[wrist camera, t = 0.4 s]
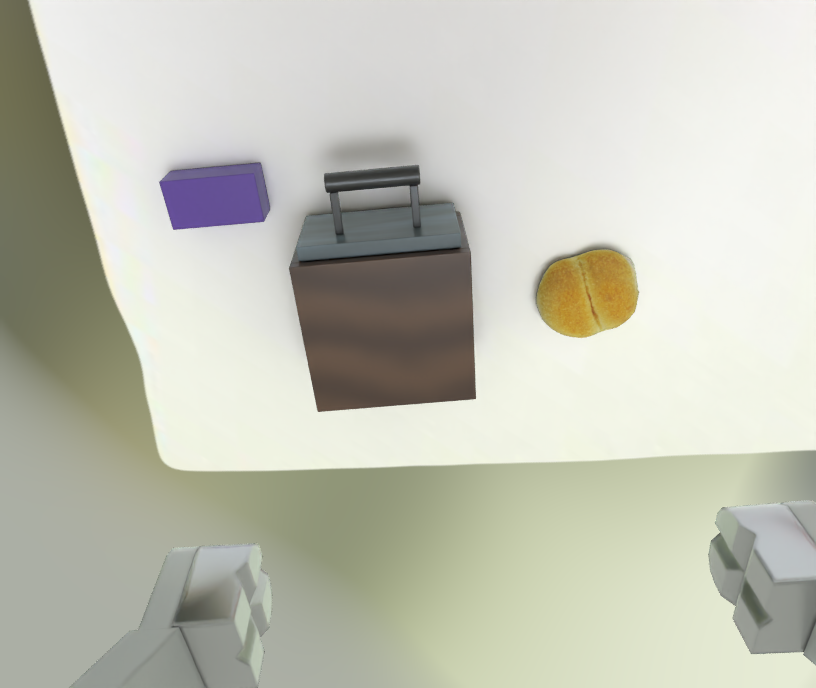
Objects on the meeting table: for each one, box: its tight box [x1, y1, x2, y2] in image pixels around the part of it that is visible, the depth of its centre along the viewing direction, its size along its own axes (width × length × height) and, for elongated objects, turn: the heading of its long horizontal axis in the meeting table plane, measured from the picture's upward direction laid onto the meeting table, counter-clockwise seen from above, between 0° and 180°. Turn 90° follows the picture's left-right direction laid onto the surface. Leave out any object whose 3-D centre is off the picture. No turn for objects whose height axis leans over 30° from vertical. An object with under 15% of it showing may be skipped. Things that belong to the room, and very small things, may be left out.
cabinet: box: [289, 212, 476, 412], centre depth 55 cm, size 14×14×9 cm
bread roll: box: [536, 250, 639, 338], centre depth 57 cm, size 8×9×4 cm
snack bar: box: [159, 163, 270, 230], centre depth 52 cm, size 4×8×3 cm, turn 95°
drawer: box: [296, 165, 461, 262], centre depth 52 cm, size 17×12×7 cm
